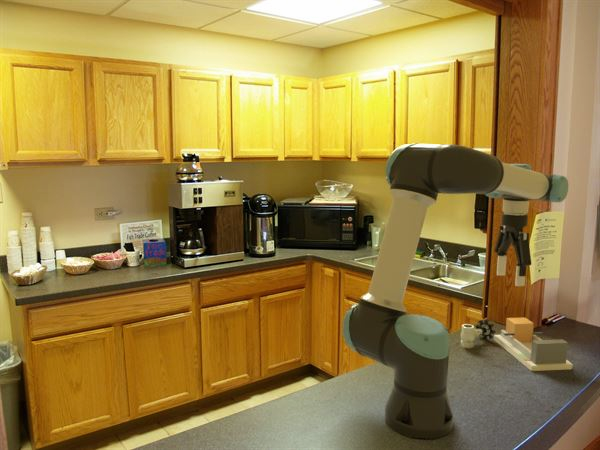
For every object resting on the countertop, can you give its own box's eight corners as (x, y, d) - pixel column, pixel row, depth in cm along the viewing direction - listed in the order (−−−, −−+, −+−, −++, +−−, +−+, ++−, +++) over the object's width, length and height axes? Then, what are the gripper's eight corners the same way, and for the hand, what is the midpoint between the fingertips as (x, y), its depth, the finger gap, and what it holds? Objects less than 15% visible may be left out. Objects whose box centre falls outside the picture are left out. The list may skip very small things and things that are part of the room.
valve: (471, 351, 151) (495, 342, 158) (473, 330, 150) (496, 322, 157) (453, 344, 156) (476, 335, 163) (454, 324, 155) (478, 316, 162)
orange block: (504, 343, 153) (505, 324, 152) (496, 336, 158) (497, 318, 157) (541, 341, 154) (543, 323, 153) (532, 335, 159) (533, 317, 158)
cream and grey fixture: (531, 370, 138) (533, 345, 137) (493, 339, 160) (495, 317, 159) (572, 369, 139) (574, 343, 138) (529, 338, 161) (531, 315, 160)
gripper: (548, 219, 146) (541, 291, 150) (507, 207, 169) (503, 270, 173) (523, 219, 145) (517, 291, 149) (486, 208, 169) (482, 270, 172)
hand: (510, 280), depth 161 cm, fingers open, 11 cm apart
